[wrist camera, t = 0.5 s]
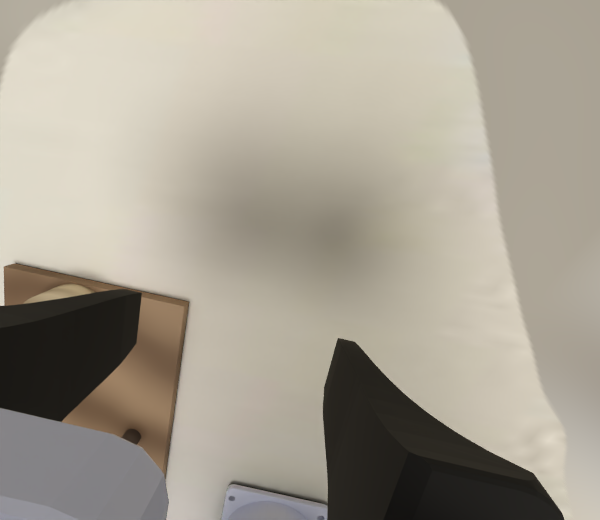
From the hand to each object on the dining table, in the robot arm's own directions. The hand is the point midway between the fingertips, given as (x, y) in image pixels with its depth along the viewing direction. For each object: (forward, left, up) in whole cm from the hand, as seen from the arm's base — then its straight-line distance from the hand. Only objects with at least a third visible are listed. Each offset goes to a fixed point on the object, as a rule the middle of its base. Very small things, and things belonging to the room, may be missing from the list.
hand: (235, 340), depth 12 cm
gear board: (-14, +11, -10) cm, 20 cm away
